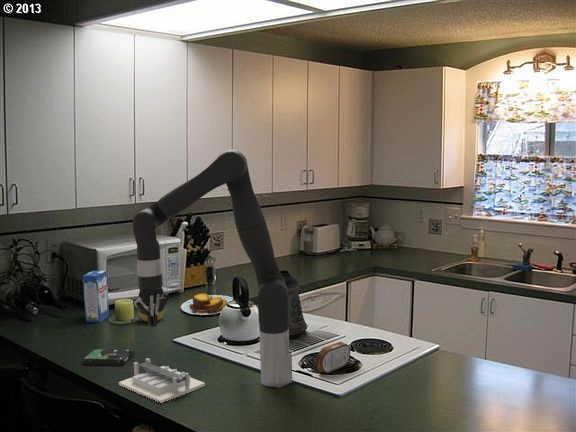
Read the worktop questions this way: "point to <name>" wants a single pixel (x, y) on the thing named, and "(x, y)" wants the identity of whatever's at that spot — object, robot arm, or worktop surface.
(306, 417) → the worktop surface
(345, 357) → the tin
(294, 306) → the beer stein
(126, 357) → the disk drive
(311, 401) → the worktop surface
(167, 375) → the strap
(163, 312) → the flower pot
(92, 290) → the milk carton
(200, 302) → the food on plate
